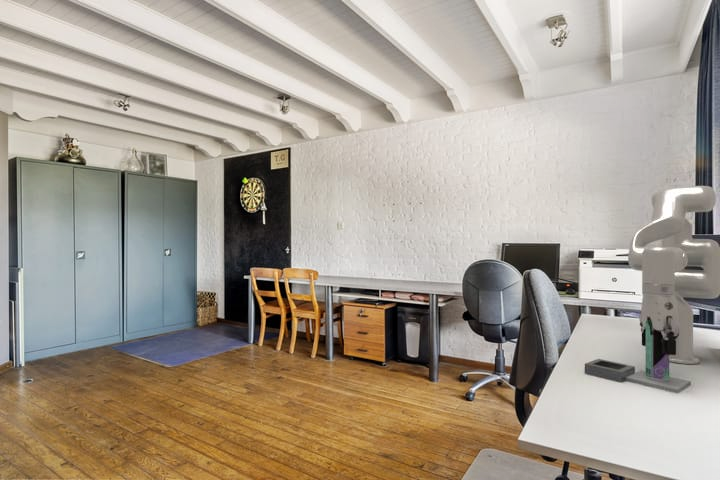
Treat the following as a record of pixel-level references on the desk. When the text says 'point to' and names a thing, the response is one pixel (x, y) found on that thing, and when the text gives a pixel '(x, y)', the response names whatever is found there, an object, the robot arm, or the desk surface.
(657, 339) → the spray can
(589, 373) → the grey square frame
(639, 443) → the desk surface
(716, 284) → the robot arm
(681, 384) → the mat
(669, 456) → the desk surface
